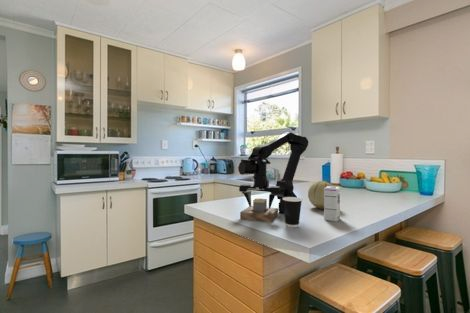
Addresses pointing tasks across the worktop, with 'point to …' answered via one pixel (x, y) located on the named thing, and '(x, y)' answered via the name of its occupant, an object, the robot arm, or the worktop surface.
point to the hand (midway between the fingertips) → (259, 207)
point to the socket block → (259, 214)
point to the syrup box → (332, 203)
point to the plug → (260, 205)
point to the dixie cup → (292, 211)
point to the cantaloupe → (318, 193)
